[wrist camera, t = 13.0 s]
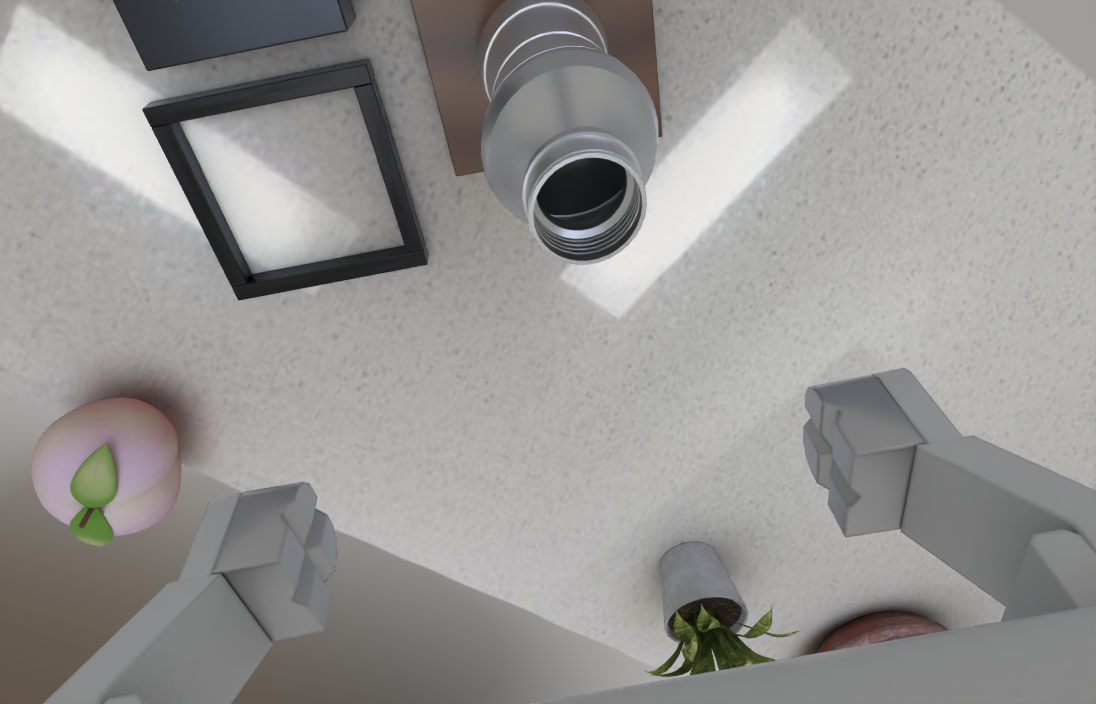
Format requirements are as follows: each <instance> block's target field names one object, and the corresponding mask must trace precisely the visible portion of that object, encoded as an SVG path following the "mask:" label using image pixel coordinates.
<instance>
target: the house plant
mask: <svg viewBox="0 0 1096 704" xmlns="http://www.w3.org/2000/svg"><path fill="white" fill-rule="evenodd" d="M661 578H662V594H663V610H664V626H665V631H666V633H667V635H668V636H669V637H670V638H671V639H672V640H674V641H676V642H678V643H679V646H678V648H677V650H676V651H675V652H674V654H673V655H672V656H671V657H670V658H669V659H668V660H667V661H666V662H665V663H664V664H663V665H662V666H660V667H659V668H658V669H656V670H655V671H650V672H649V673H652V674H653V675H655V676H661V677H672V676H678V675H683V674H685V673H687V672H689V671H690V670H691V668H692V670H691V673H690V676H691V675H696V674H702V673H708V672H713V671H715V664H714V659H713V655H712V650H713V653H714V655H715V658H716V661H717V665H718V668H719V670H725V669H731V668H736V667H742V666H748V665H753V664H759V663H765V662H771V661H776V660H774V659H771V658H767V657H764V656H761V655H759V654H756V653H755V652H754V651H752V650H751V649H750V648H749V647H747V646H746V645H745V644H744V643H743V642H742V641H741V640H740V639H739V638H738V637H737V636H741V637H745V638H756V637H758V636H760V635H762V634H764V633H765V634H767V635H770V636H774V637H786V636H790V635H793V634H795V633H797V632H799V631H796V632H792V633H788V634H771V633H767V631H768V630H769V629H770V627H771V624H772V606H771V610H770V611H769V612H768V613H767V614H766V615H764V616H763V617H762V618H761V619H760V620H759V621H758V622H757V623H756V624H755V625H754V626H753V627H749V626H746V625H744V624H745V623H746V621H747V617H748V610H747V608H746V605H745V604H744V602H743V600H742V598H741V596H740V595H739V593H738V591H737V589H736V587H735V585H734V584H733V582H732V580H731V578H730V576H729V575H728V573H727V571H726V569H725V567H724V566H723V564H722V562H721V560H720V558H719V556H718V555H717V553H716V551H715V550H714V549H713V548H712V547H711V546H709V545H707V544H704V543H700V542H690V543H684V544H681V545H678V546H676V547H674V548H672V549H670V550H669V551H668V552H667V553H666V554H665V555H664V556H663V557H662V560H661ZM743 626H745V627H748V628H751V630H749V631H748V632H747V633H746V634H745V635H739V634H735V633H737V632H738V631H739V630H740V629H741V628H742V627H743ZM683 644H685V645H684V647H683V648H682V646H683ZM681 649H682V653H683V655H684V658H685V661H684V663H683V665H682V667H680V668H679V669H678V670H676V671H674V672H672V673H668V674H663V675H658V674H662V673H663V672H666V671H667V670H668V669H669V668H670V667H671V666H672V665H673V663H674V662H675V661H676V659H677V657H678V656H679V654H680V651H681ZM711 649H712V650H711Z"/></svg>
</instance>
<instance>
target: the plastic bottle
mask: <svg viewBox="0 0 1096 704" xmlns="http://www.w3.org/2000/svg"><path fill="white" fill-rule="evenodd" d="M477 72H478V78H479V82H480V85H481V87H482V90H483V92H484V95H485V96H486V98H487V100H488V102H489V103H490V104H489V107H488V109H487V112H486V115H485V120H484V125H483V129H482V136H481V158H482V163H483V168H484V173H485V175H486V178H487V180H488V183H489V185H490V187H491V189H492V190H493V192H494V193H495V195H496V196H497V198H498V199H499V201H500V202H501V203H502V204H503V205H504V206H505V207H506V208H507V209H508V210H510V211H511V212H512V213H513V214H514V215H515V216H516V217H517V218H519V219H520V220H522V221H523V222H525V223H526V224H528V225H529V227H530V229H531V232H532V234H533V236H534V238H535V240H536V241H537V243H538V244H539V246H540V247H541V248H542V249H543V250H544V251H545V252H546V253H547V254H549V255H551V256H552V257H554V258H555V259H557V260H560V261H563V262H565V263H570V264H576V265H585V264H593V263H598V262H601V261H604V260H606V259H609V258H611V257H613V256H614V255H616V254H618V253H619V252H621V251H622V250H623V249H624V248H625V247H627V246H628V245H629V244H630V242H631V241H632V240H633V239H634V238H635V237H636V235H637V233H638V231H639V230H640V228H641V226H642V223H643V220H644V218H645V213H646V206H647V204H646V203H647V202H646V190H645V185H646V183H647V181H648V180H649V177H650V174H651V172H652V169H653V166H654V163H655V157H656V151H657V145H658V138H659V135H658V119H657V115H656V111H655V107H654V103H653V101H652V99H651V97H650V95H649V93H648V91H647V89H646V87H645V86H644V85H643V83H642V82H641V81H640V79H639V78H638V77H637V76H636V74H635V73H633V72H632V71H631V70H630V69H629V68H628V67H627V66H625V65H624V64H623V63H622V62H620V61H619V60H618V59H617V58H615V57H613V56H611V55H609V53H608V44H607V39H606V35H605V31H604V28H603V26H602V24H601V22H600V20H599V18H598V16H597V14H596V13H595V12H594V11H593V9H592V8H591V7H590V6H589V4H587V3H586V2H585V1H584V0H506V1H505V2H504V3H502V4H501V5H500V6H499V7H498V9H497V10H496V11H495V12H494V13H493V14H492V15H491V17H490V19H489V20H488V22H487V23H486V25H485V27H484V29H483V32H482V34H481V37H480V39H479V44H478V50H477Z"/></svg>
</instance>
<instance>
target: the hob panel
mask: <svg viewBox="0 0 1096 704" xmlns="http://www.w3.org/2000/svg"><path fill="white" fill-rule="evenodd" d="M113 1H114V4H115V6H116V8H117V10H118V12H119V14H120V16H121V18H122V20H123V22H124V24H125V26H126V28H127V30H128V32H129V34H130V37H131V39H132V41H133V43H134V45H135V47H136V49H137V51H138V53H139V55H140V57H141V59H142V61H143V63H144V65H145V67H146V70H147V71H152V70H157V69H162V68H167V67H172V66H177V65H182V64H187V63H192V62H196V61H201V60H206V59H211V58H216V57H221V56H226V55H231V54H236V53H241V52H246V51H251V50H256V49H261V48H266V47H271V46H276V45H281V44H285V43H290V42H295V41H300V40H305V39H310V38H315V37H320V36H325V35H330V34H335V33H340V32H345V31H348V29H349V28H350V26H351V24H352V23H353V21H354V20H355V18H356V15H355V12H354V9H353V5H352V2H351V0H113Z"/></svg>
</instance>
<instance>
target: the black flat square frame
mask: <svg viewBox="0 0 1096 704" xmlns="http://www.w3.org/2000/svg"><path fill="white" fill-rule="evenodd" d="M352 87H354V89H355V92H356V96H357V99H358V102H359V105H360V108H361V111H362V114H363V117H364V120H365V123H366V127H367V130H368V133H369V136H370V139H371V142H372V145H373V148H374V151H375V154H376V157H377V161H378V164H379V167H380V170H381V173H382V176H383V179H384V182H385V185H386V188H387V191H388V195H389V198H390V201H391V204H392V207H393V210H394V213H395V216H396V219H397V222H398V225H399V229H400V232H401V235H402V238H403V241H404V244H405V246H400V247H395V248H389V249H384V250H379V251H374V252H369V253H363V254H358V255H353V256H348V257H342V258H337V259H332V260H327V261H321V262H316V263H311V264H306V265H301V266H295V267H290V268H285V269H280V270H274V271H269V272H264V273H259V274H254V275H251V272H250V270H249V268H248V266H247V264H246V262H245V260H244V258H243V255H242V253H241V251H240V249H239V247H238V245H237V243H236V241H235V239H234V237H233V235H232V232H231V230H230V228H229V226H228V224H227V222H226V220H225V218H224V216H223V214H222V212H221V210H220V207H219V205H218V203H217V201H216V199H215V197H214V195H213V193H212V191H211V189H210V187H209V185H208V182H207V180H206V178H205V176H204V174H203V172H202V170H201V168H200V166H199V164H198V162H197V159H196V157H195V155H194V153H193V151H192V149H191V147H190V145H189V143H188V141H187V139H186V137H185V134H184V132H183V130H182V128H181V126H180V124H179V122H181V121H186V120H191V119H196V118H201V117H206V116H211V115H216V114H221V113H226V112H231V111H236V110H241V109H246V108H251V107H256V106H261V105H266V104H271V103H276V102H281V101H286V100H291V99H296V98H301V97H306V96H311V95H316V94H321V93H326V92H331V91H336V90H342V89H347V88H352ZM142 110H143V112H144V114H145V116H146V118H147V120H148V122H149V124H150V126H151V127H152V130H153V132H154V134H155V136H156V138H157V140H158V142H159V144H160V146H161V148H162V150H163V152H164V154H165V156H166V158H167V160H168V162H169V164H170V165H171V167H172V169H173V171H174V173H175V175H176V177H177V179H178V181H179V183H180V185H181V187H182V189H183V191H184V193H185V195H186V197H187V199H188V201H189V203H190V205H191V207H192V209H193V211H194V213H195V215H196V217H197V219H198V221H199V223H200V225H201V227H202V229H203V231H204V233H205V235H206V237H207V239H208V241H209V243H210V245H211V247H212V249H213V251H214V253H215V255H216V257H217V259H218V261H219V263H220V265H221V267H222V269H223V271H224V273H225V275H226V277H227V278H228V280H229V282H230V284H231V286H232V289H233V291H234V293H235V295H236V297H237V299H238V300H244V299H249V298H254V297H259V296H265V295H270V294H275V293H280V292H286V291H291V290H296V289H301V288H307V287H312V286H317V285H322V284H328V283H333V282H338V281H343V280H349V279H354V278H359V277H364V276H370V275H375V274H380V273H386V272H391V271H396V270H401V269H407V268H412V267H417V266H422V265H427V264H428V256H429V255H428V251H427V248H426V245H425V242H424V238H423V235H422V232H421V229H420V225H419V222H418V219H417V215H416V212H415V209H414V206H413V202H412V199H411V196H410V192H409V189H408V186H407V183H406V179H405V176H404V173H403V169H402V166H401V163H400V160H399V156H398V153H397V150H396V146H395V143H394V140H393V136H392V133H391V130H390V127H389V123H388V120H387V117H386V113H385V110H384V107H383V104H382V100H381V97H380V94H379V90H378V87H377V84H376V81H375V78H374V74H373V71H372V67H371V64H370V61H369V59H363V60H358V61H353V62H348V63H343V64H338V65H333V66H328V67H323V68H318V69H313V70H308V71H303V72H298V73H293V74H288V75H283V76H278V77H273V78H268V79H264V80H259V81H254V82H249V83H244V84H239V85H234V86H229V87H224V88H219V89H214V90H209V91H204V92H199V93H194V94H189V95H184V96H179V97H174V98H169V99H164V100H159V101H154V102H150V103H149V104H148V105H147V106H145V107H144V108H143V109H142Z"/></svg>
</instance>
